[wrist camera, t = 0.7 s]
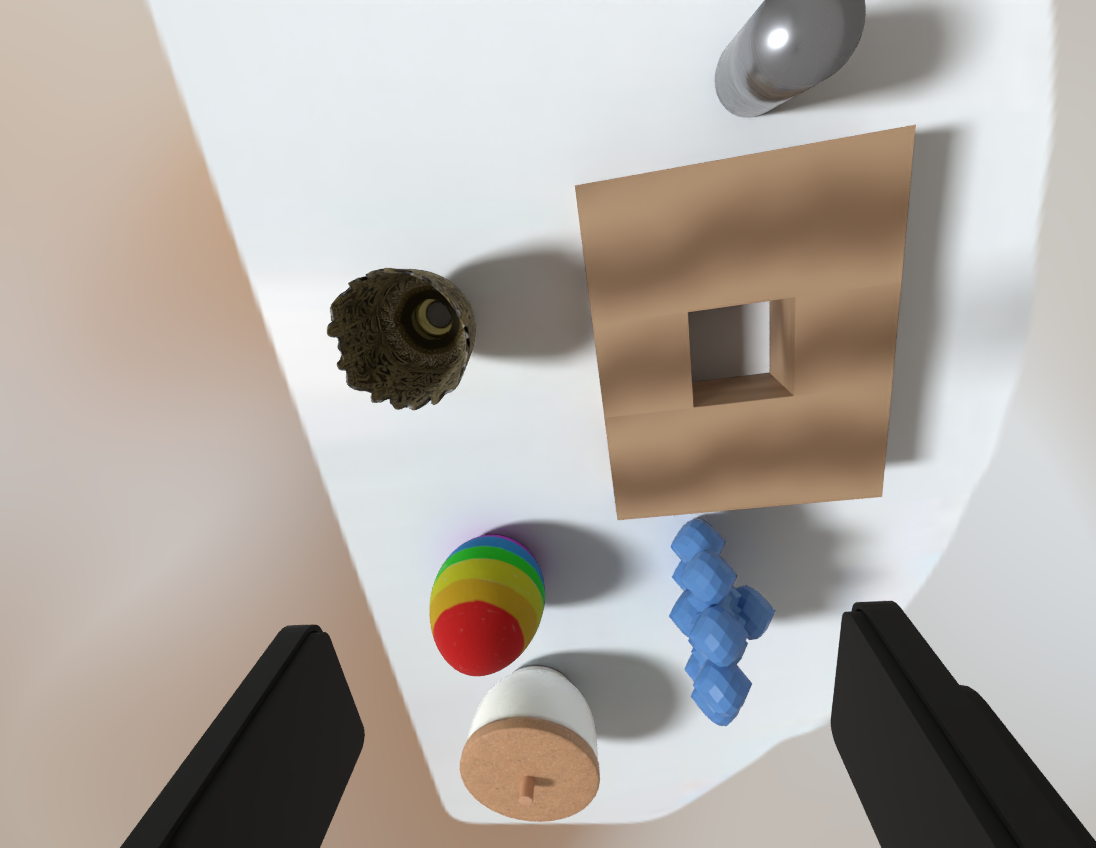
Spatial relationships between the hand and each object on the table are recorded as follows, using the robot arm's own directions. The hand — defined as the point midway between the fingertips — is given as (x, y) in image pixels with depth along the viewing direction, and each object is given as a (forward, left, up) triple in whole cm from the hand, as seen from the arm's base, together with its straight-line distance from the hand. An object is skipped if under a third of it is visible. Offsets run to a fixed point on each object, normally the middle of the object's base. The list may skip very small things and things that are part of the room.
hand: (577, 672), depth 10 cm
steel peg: (-13, +10, -27) cm, 31 cm away
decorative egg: (+17, -10, -27) cm, 33 cm away
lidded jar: (+31, -9, -27) cm, 42 cm away
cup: (-3, -10, -27) cm, 29 cm away
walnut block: (+1, +8, -26) cm, 28 cm away
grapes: (+18, +6, -27) cm, 33 cm away
